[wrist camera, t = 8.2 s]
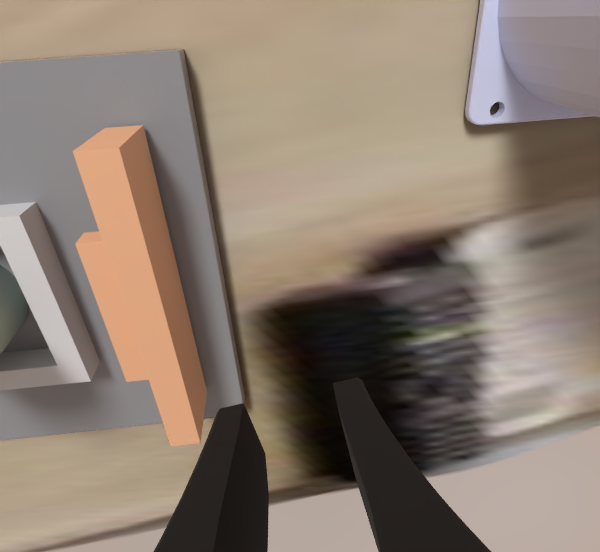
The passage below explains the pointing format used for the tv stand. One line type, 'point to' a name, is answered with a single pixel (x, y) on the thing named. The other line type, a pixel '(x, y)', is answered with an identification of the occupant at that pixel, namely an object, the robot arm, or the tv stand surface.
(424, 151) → the tv stand surface
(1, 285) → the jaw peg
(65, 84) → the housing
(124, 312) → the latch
